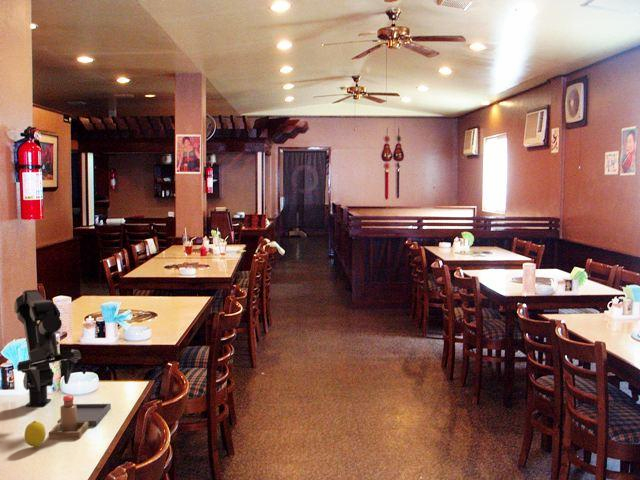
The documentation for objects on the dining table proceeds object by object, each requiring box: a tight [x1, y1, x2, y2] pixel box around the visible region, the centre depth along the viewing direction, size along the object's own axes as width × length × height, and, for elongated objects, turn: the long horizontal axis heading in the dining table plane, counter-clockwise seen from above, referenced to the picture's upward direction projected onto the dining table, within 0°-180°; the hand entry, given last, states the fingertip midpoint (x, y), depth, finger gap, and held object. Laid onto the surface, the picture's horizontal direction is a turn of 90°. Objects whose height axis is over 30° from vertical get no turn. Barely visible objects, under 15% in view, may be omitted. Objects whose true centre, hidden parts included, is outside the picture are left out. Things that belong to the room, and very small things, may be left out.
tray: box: [57, 403, 112, 427], centre depth 205 cm, size 16×12×2 cm
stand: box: [48, 421, 90, 440], centre depth 192 cm, size 9×9×2 cm
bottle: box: [60, 394, 78, 432], centre depth 191 cm, size 5×5×12 cm
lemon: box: [24, 420, 46, 449], centre depth 181 cm, size 6×6×8 cm
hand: (52, 387), depth 200 cm, fingers open, 9 cm apart
